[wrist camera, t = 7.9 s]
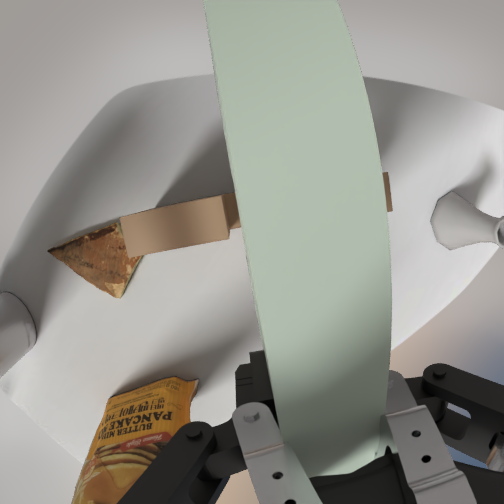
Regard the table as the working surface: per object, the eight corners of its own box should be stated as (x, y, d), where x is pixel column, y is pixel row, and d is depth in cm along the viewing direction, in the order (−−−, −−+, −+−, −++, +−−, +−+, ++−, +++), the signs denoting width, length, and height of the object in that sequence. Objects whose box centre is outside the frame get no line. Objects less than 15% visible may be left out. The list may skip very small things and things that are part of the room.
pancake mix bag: (226, 399, 35) (228, 609, 8) (117, 431, 36) (65, 581, 8) (198, 361, 33) (166, 597, 6) (89, 400, 34) (13, 551, 7)
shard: (53, 248, 30) (45, 251, 28) (76, 192, 29) (69, 192, 27) (122, 297, 32) (117, 303, 30) (151, 242, 31) (147, 245, 29)
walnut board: (160, 236, 30) (128, 257, 20) (154, 208, 30) (119, 217, 20) (346, 203, 31) (392, 211, 21) (342, 175, 30) (387, 172, 20)
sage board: (217, 95, 17) (196, -47, 4) (264, 88, 17) (314, -51, 4) (260, 332, 20) (291, 492, 8) (302, 324, 20) (375, 469, 8)
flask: (421, 221, 32) (476, 233, 22) (450, 180, 31) (505, 183, 21) (447, 259, 33) (499, 280, 23) (474, 220, 32) (526, 231, 22)
